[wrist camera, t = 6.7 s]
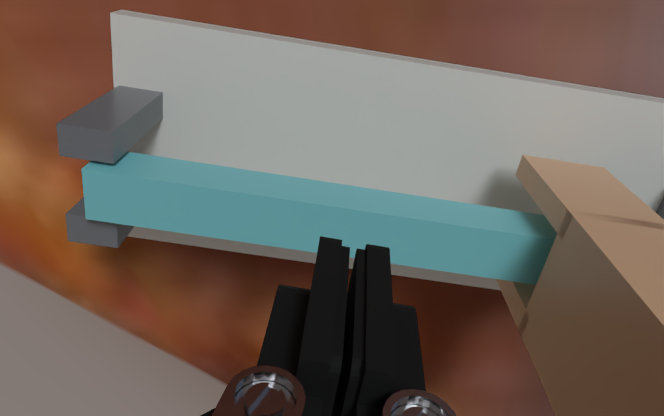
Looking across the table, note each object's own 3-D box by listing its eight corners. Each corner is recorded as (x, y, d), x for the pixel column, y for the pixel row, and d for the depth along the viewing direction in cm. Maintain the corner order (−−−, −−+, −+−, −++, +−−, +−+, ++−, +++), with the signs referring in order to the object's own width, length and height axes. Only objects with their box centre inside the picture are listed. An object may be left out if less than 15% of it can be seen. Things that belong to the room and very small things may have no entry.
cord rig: (753, 112, 19) (944, 192, 13) (650, 299, 24) (758, 427, 17) (121, 9, 18) (5, 42, 12) (129, 224, 23) (45, 330, 16)
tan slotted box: (604, 167, 18) (856, 388, 9) (560, 268, 20) (731, 531, 11) (522, 154, 18) (697, 366, 9) (486, 257, 20) (599, 515, 11)
